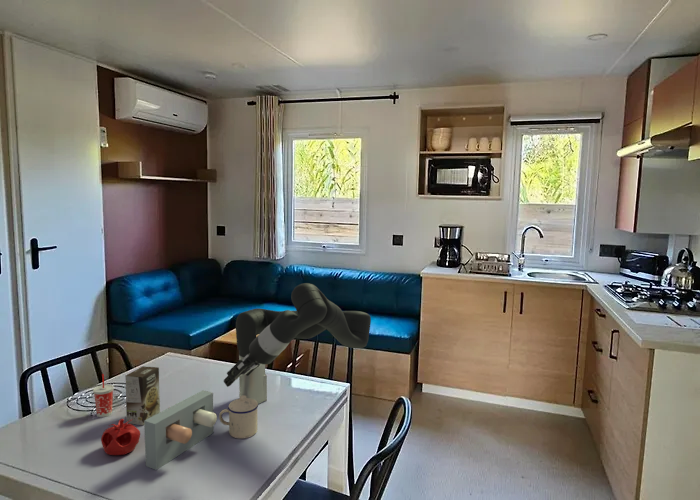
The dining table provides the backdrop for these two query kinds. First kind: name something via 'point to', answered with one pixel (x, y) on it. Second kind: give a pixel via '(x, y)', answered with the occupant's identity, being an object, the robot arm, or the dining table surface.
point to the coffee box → (142, 394)
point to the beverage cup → (103, 399)
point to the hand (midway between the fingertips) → (236, 378)
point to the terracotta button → (178, 433)
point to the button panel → (181, 414)
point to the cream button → (204, 417)
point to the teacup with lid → (241, 417)
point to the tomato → (120, 438)
